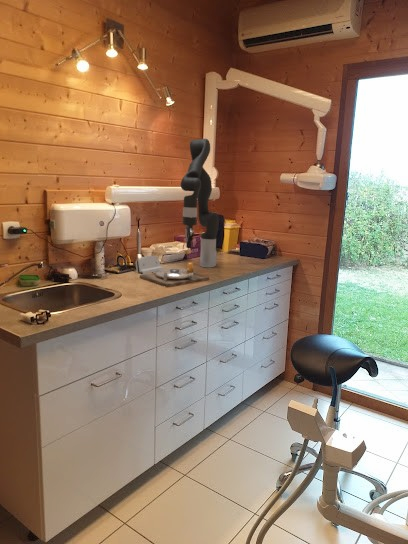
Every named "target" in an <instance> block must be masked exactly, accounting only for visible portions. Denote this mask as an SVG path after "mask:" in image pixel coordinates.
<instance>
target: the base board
mask: <svg viewBox="0 0 408 544" xmlns="http://www.w3.org/2000/svg"><path fill="white" fill-rule="evenodd" d="M193 275H194V279H189V278H186V279H167V272H164V278H161V277H158V276H156V272H153V273H148V274H139V279H142V280H144V281H146V282H147V281H148V282H150V283H154V284H156V285H159V286H163V287H164V286H165V288H171V287H177V286H181V285H182V286H183V285H188V284H195V283H201V282H205V281H206V282H207V281H209V280H210V276H206V275H202V274H199V273H196V272H193Z"/></svg>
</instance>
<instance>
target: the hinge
mask: <svg viewBox="0 0 408 544" xmlns="http://www.w3.org/2000/svg"><path fill="white" fill-rule="evenodd" d="M135 268H136V274H139V273H142V274H141V275H145V274H151V273H152V272H153V273H156V271H157V270H159V269H164V267H163V266H162V264H161V261H160V260H159V257H158V256H157V255H146V256H142V257H140V258H138V259H137V260H136V261H135Z"/></svg>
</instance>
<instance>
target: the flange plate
mask: <svg viewBox="0 0 408 544" xmlns="http://www.w3.org/2000/svg"><path fill="white" fill-rule="evenodd" d="M186 268H187V269H186ZM186 268H178V267H166V268H164V267H163V269H159V270H157V271H156V272H155V273H156V276H158V277H161V278H164V272H167V279H186V278H189V279H194V275H193V273H194V262H192V261H188V262H187V265H186Z"/></svg>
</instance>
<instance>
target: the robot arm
mask: <svg viewBox="0 0 408 544" xmlns="http://www.w3.org/2000/svg"><path fill="white" fill-rule="evenodd" d="M189 149H190V157H191V162H190V164H189V166H188V169H187V172H186V173H185V174H184V176H183V177H182V178H181V180H180V188H181V190H182V191H184V192H192V194H190V195H185V196H183V209H182V225H184V226H186V227H184V233H185V241H186V244H185V245H186V247H185V248H186V249H191V247H192V241H193V239H194V231H195V230H194V228H193V226H197V219H198V222H199V224H200V226H202V227H203V228H206V231H204V232H202V233H201V235H200V259H199V262H200V263H199V266H200V267H202V268H215V267H216V266H217V255H218V252H217V235H218V232H219V224H220V222H219V221H220V218H219V214H217V213H216V212H213V211H210V210H209V199H210V197H211V195H212V191H213V186H212V179H211V177H210V175H209V173H208V172H207V171H206V169H205V168H204V165H205V163H206V161H207V159H208V157H209V156H210V152H211V143H210V140H209V139H208V138H199V139H191V140H190V142H189Z"/></svg>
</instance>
